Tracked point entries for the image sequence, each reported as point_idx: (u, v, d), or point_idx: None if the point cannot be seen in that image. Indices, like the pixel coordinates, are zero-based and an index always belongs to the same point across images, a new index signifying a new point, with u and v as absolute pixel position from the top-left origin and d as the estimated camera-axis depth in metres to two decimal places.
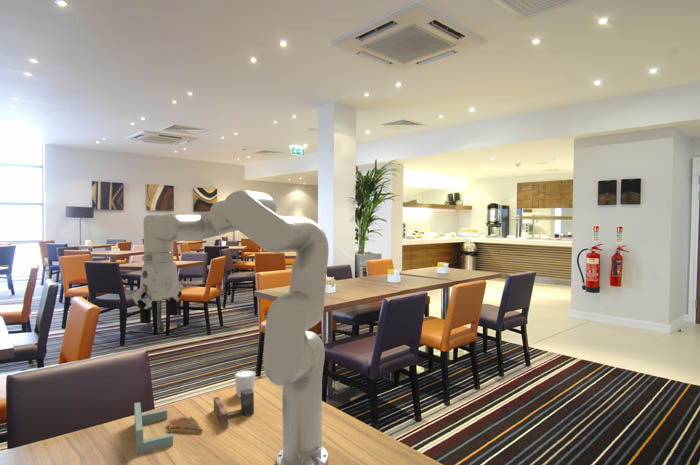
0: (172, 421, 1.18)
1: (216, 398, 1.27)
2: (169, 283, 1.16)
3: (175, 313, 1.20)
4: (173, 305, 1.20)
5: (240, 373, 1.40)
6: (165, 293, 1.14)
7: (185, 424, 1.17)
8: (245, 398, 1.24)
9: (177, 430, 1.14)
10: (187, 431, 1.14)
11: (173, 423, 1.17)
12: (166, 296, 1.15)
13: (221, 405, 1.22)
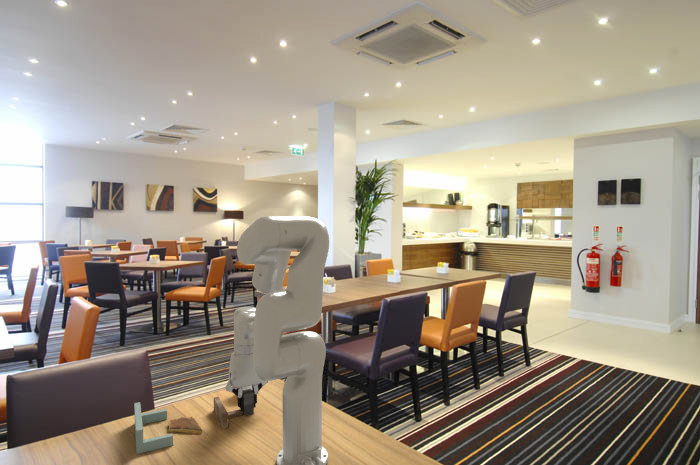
0: (173, 421, 1.18)
1: (216, 398, 1.27)
2: None
3: None
4: None
5: None
6: None
7: (185, 424, 1.17)
8: (245, 398, 1.24)
9: (177, 430, 1.14)
10: (187, 431, 1.14)
11: (173, 423, 1.17)
12: None
13: (221, 405, 1.22)
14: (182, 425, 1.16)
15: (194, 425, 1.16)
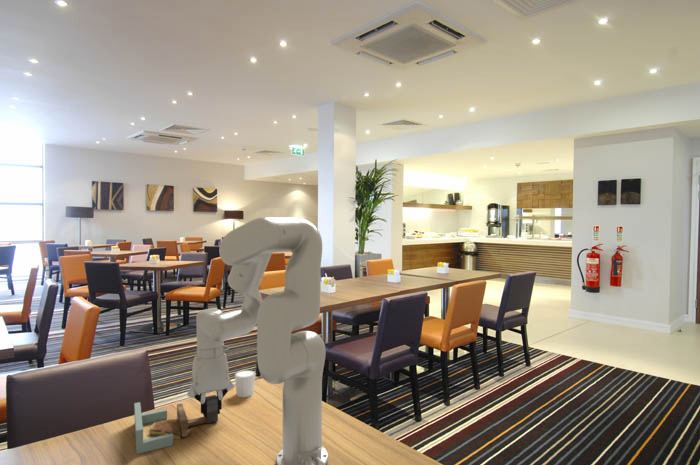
0: (157, 423, 1.17)
1: (179, 405, 1.22)
2: None
3: None
4: None
5: (240, 373, 1.40)
6: None
7: (167, 427, 1.14)
8: (208, 405, 1.19)
9: (158, 433, 1.12)
10: None
11: (157, 425, 1.16)
12: None
13: (183, 412, 1.17)
14: (164, 428, 1.14)
15: (175, 429, 1.14)
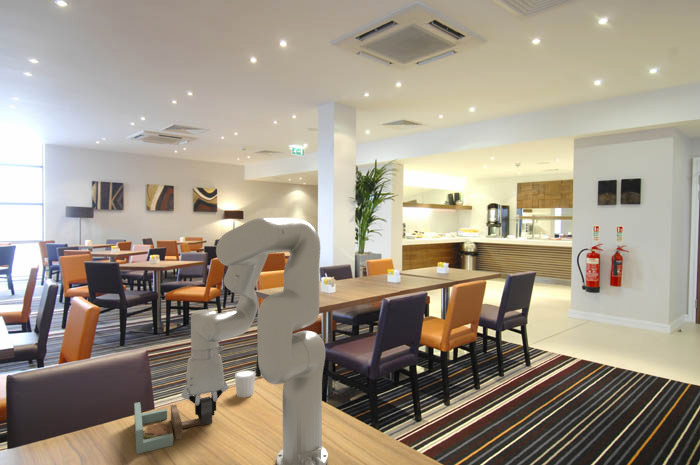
0: (150, 426, 1.15)
1: (173, 406, 1.21)
2: None
3: None
4: None
5: (240, 373, 1.40)
6: None
7: (160, 430, 1.13)
8: (203, 407, 1.18)
9: (151, 436, 1.11)
10: None
11: (149, 428, 1.14)
12: None
13: (177, 414, 1.16)
14: (157, 431, 1.13)
15: (168, 432, 1.13)
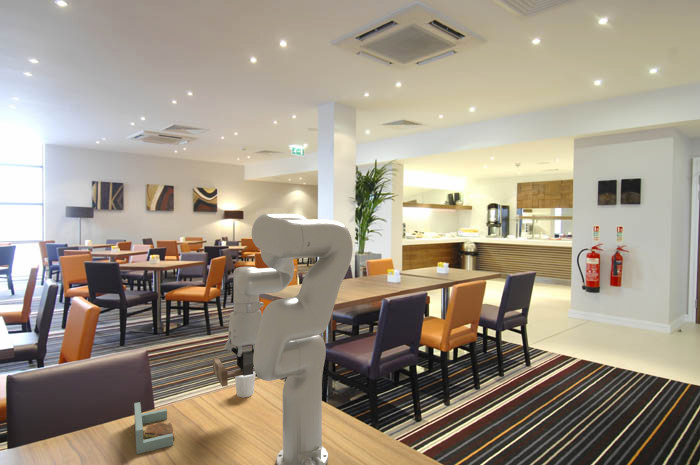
0: (150, 426, 1.15)
1: (215, 359, 1.27)
2: None
3: None
4: None
5: None
6: None
7: (160, 430, 1.13)
8: (245, 358, 1.24)
9: (151, 436, 1.11)
10: None
11: (149, 428, 1.14)
12: None
13: (220, 364, 1.22)
14: (157, 431, 1.13)
15: (168, 432, 1.13)
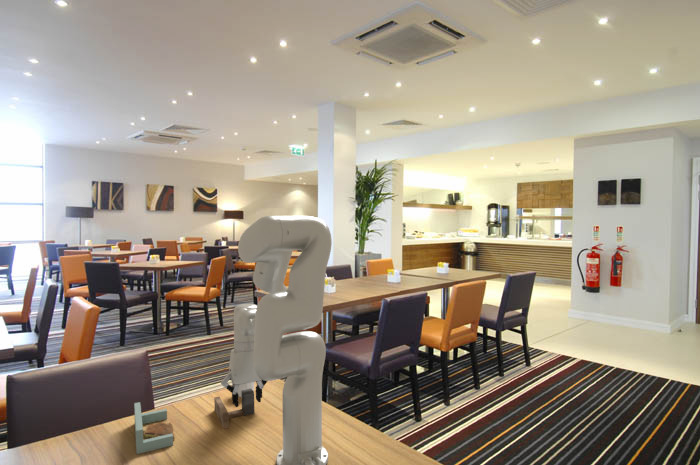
0: (150, 426, 1.15)
1: (217, 398, 1.27)
2: None
3: None
4: None
5: None
6: None
7: (160, 430, 1.13)
8: (246, 398, 1.24)
9: (151, 436, 1.11)
10: None
11: (149, 428, 1.14)
12: None
13: (222, 405, 1.22)
14: (157, 431, 1.13)
15: (169, 432, 1.13)
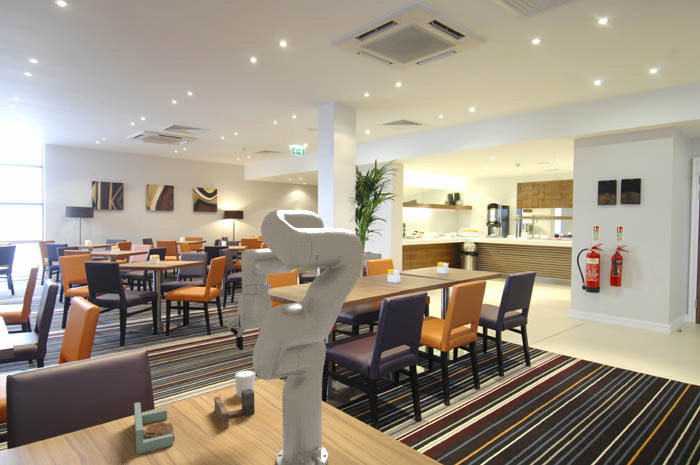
0: (150, 426, 1.15)
1: (217, 398, 1.27)
2: None
3: None
4: None
5: (240, 373, 1.40)
6: None
7: (160, 430, 1.13)
8: (246, 398, 1.24)
9: (151, 436, 1.11)
10: None
11: (150, 428, 1.14)
12: None
13: (222, 405, 1.22)
14: (157, 431, 1.13)
15: (169, 432, 1.13)
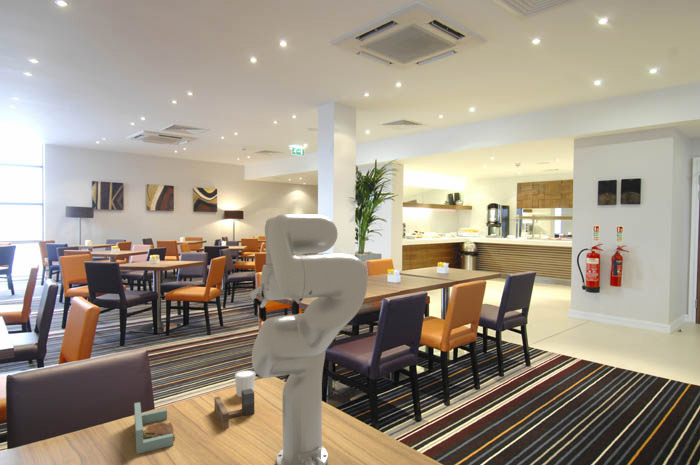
0: (150, 426, 1.15)
1: (217, 398, 1.27)
2: None
3: None
4: None
5: (240, 373, 1.40)
6: None
7: (160, 430, 1.13)
8: (246, 398, 1.24)
9: (151, 436, 1.11)
10: None
11: (150, 428, 1.14)
12: None
13: (222, 405, 1.22)
14: (157, 431, 1.13)
15: (169, 432, 1.13)
